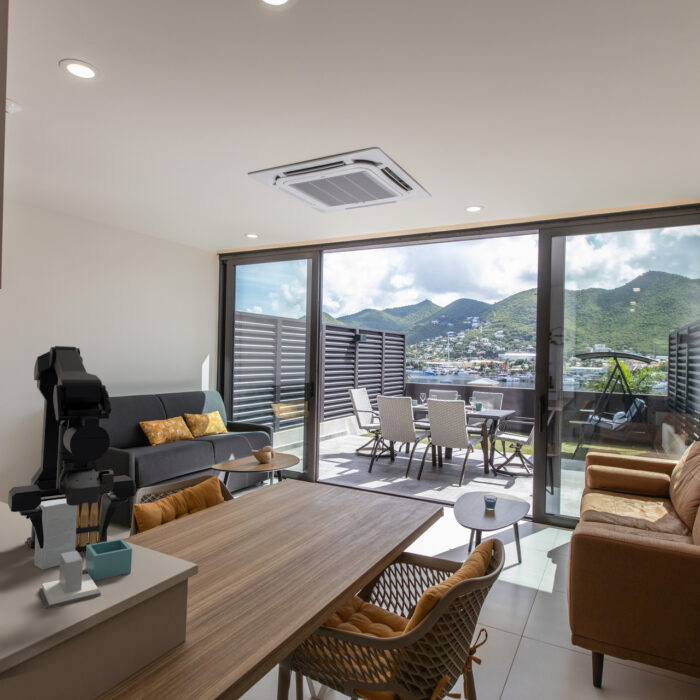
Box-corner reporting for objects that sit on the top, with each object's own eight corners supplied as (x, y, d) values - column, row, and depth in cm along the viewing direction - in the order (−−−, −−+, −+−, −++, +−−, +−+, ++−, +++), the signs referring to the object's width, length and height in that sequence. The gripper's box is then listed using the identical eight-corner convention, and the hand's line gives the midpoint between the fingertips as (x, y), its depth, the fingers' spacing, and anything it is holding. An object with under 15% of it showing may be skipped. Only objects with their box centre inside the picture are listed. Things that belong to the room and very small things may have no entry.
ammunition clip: (48, 557, 101) (51, 497, 101) (48, 553, 102) (51, 494, 103) (107, 548, 106) (109, 491, 106) (106, 545, 108) (109, 489, 108)
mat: (39, 590, 86) (39, 588, 86) (90, 579, 91) (90, 577, 91) (46, 608, 81) (46, 606, 81) (100, 595, 86) (100, 593, 86)
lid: (42, 588, 86) (44, 554, 87) (88, 578, 91) (89, 546, 91) (49, 604, 81) (51, 568, 81) (97, 593, 85) (99, 559, 86)
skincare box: (66, 555, 102) (69, 496, 102) (75, 561, 99) (78, 500, 99) (32, 564, 97) (35, 502, 97) (41, 570, 94) (44, 506, 95)
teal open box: (85, 568, 96) (86, 545, 96) (121, 561, 100) (122, 538, 100) (93, 581, 91) (94, 556, 91) (130, 572, 95) (132, 548, 95)
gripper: (18, 465, 74) (12, 571, 74) (147, 454, 86) (143, 545, 86) (10, 452, 83) (5, 548, 83) (129, 444, 95) (125, 527, 94)
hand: (72, 542), depth 86 cm, fingers open, 9 cm apart
